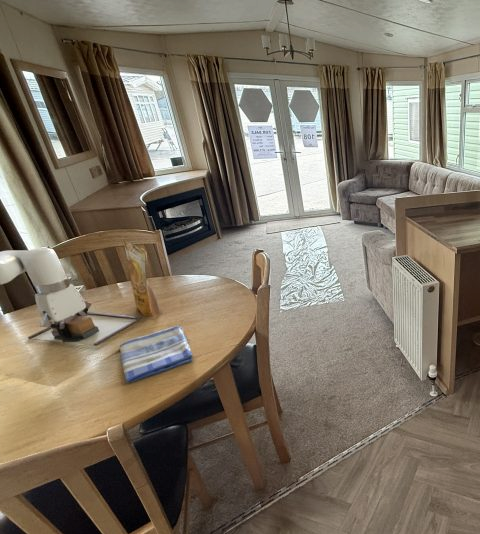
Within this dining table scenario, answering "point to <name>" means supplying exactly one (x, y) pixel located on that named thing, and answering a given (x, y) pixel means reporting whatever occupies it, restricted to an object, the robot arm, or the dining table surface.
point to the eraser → (78, 327)
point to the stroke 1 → (59, 337)
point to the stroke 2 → (71, 339)
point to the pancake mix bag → (140, 279)
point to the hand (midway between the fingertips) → (75, 331)
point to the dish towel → (154, 353)
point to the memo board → (105, 324)
